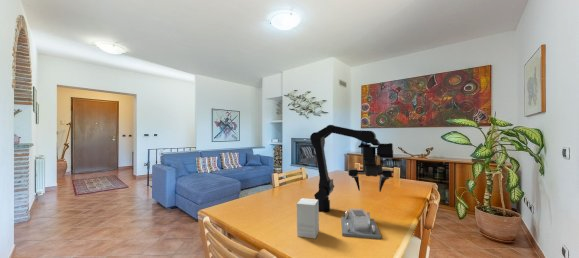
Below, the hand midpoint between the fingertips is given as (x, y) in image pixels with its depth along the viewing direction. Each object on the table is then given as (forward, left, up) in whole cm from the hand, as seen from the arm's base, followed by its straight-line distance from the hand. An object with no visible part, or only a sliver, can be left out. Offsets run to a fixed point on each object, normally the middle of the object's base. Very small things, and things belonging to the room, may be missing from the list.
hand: (369, 191), depth 104 cm
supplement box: (-26, -22, -12) cm, 36 cm away
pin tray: (-6, -13, -12) cm, 19 cm away
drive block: (-6, -13, -11) cm, 18 cm away
